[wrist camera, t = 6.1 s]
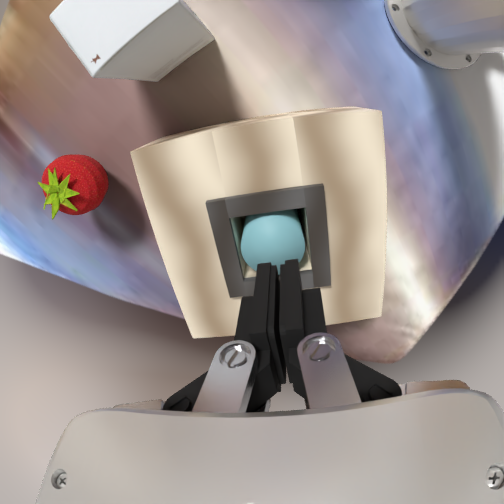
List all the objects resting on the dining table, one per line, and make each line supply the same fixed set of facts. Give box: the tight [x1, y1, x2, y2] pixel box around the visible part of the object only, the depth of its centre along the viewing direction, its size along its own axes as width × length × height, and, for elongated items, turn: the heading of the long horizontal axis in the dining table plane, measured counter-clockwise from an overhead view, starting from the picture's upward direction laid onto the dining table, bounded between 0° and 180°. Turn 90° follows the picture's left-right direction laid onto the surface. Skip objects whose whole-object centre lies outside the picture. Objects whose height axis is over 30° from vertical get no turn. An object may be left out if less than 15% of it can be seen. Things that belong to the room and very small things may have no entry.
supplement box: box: [50, 0, 215, 82], centre depth 18 cm, size 7×7×13 cm
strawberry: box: [38, 155, 108, 219], centre depth 26 cm, size 6×8×10 cm
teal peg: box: [241, 209, 305, 275], centre depth 27 cm, size 5×5×7 cm
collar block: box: [130, 107, 387, 338], centre depth 28 cm, size 19×19×9 cm
